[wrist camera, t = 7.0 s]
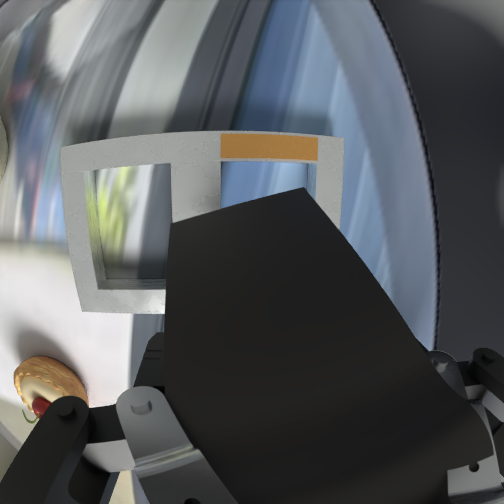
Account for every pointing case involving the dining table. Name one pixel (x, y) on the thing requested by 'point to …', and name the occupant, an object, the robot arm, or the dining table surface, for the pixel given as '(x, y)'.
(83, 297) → the white slotted tray
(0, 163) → the bowl
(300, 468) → the phone stand
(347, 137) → the dining table surface
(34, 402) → the pastry
